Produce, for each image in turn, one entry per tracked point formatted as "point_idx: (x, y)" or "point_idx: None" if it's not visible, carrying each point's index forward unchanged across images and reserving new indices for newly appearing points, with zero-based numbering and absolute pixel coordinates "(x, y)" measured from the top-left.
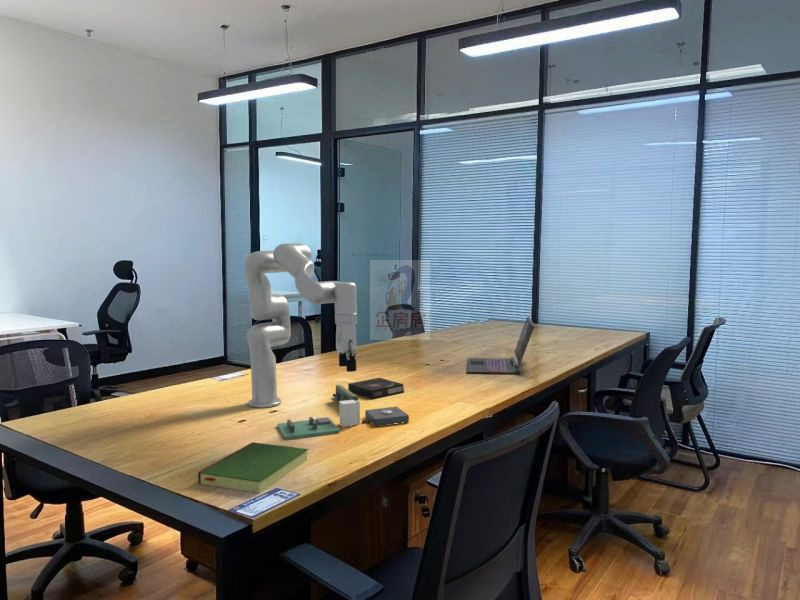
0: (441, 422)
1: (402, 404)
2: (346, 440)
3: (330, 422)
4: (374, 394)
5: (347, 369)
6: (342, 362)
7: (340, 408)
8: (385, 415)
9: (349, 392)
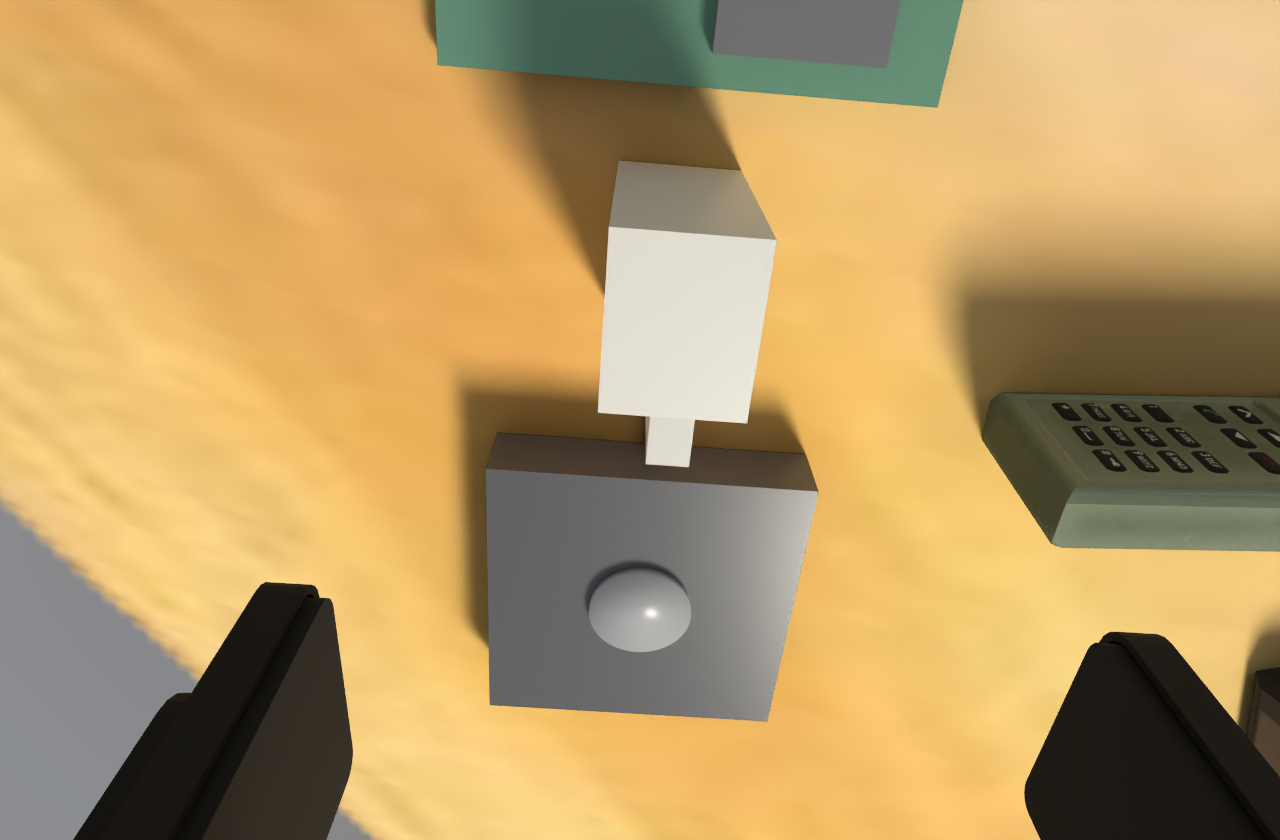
0: (421, 802)
1: (952, 778)
2: (179, 40)
3: (712, 47)
4: (1277, 720)
5: (241, 629)
6: (1125, 779)
7: (709, 212)
8: (564, 572)
9: (1262, 529)
